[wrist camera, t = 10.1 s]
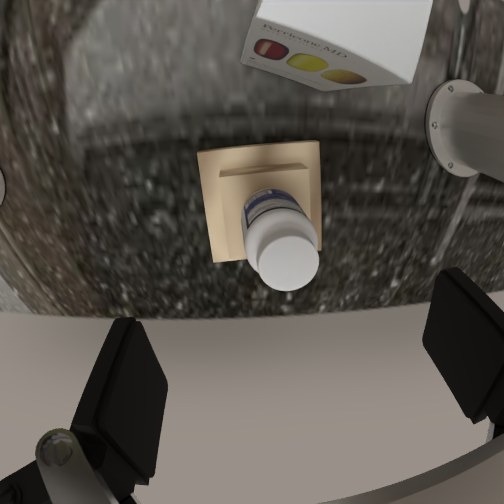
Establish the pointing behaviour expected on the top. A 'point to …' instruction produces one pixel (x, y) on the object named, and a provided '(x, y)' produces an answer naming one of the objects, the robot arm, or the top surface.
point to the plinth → (250, 159)
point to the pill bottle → (279, 239)
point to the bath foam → (2, 187)
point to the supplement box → (338, 41)
